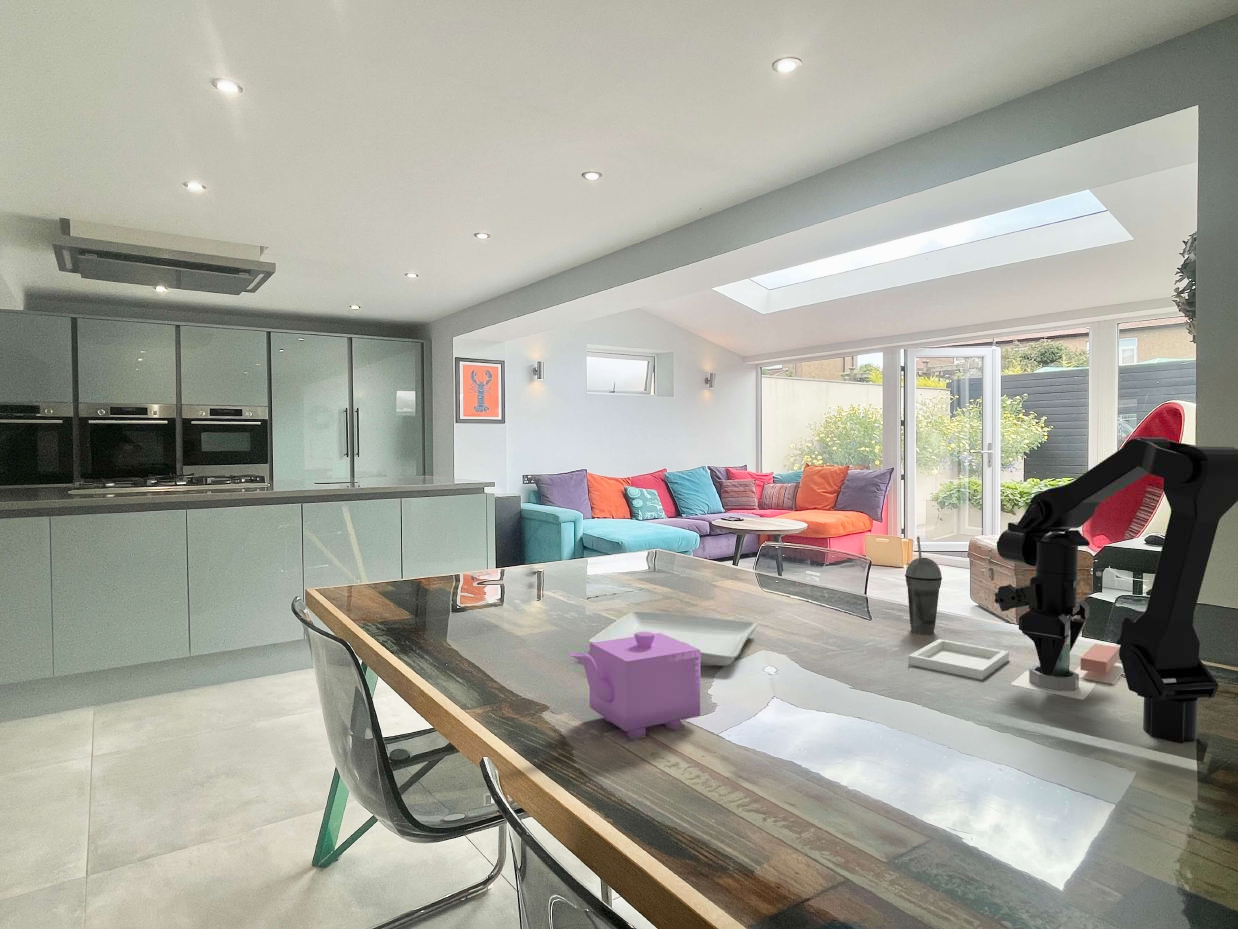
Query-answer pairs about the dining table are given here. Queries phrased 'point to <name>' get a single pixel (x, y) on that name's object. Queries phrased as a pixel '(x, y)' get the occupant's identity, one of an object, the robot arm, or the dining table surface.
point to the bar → (1099, 658)
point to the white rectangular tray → (959, 658)
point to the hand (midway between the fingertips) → (1054, 668)
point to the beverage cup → (923, 593)
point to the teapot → (643, 681)
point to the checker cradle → (1067, 681)
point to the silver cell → (1062, 662)
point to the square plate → (686, 633)
